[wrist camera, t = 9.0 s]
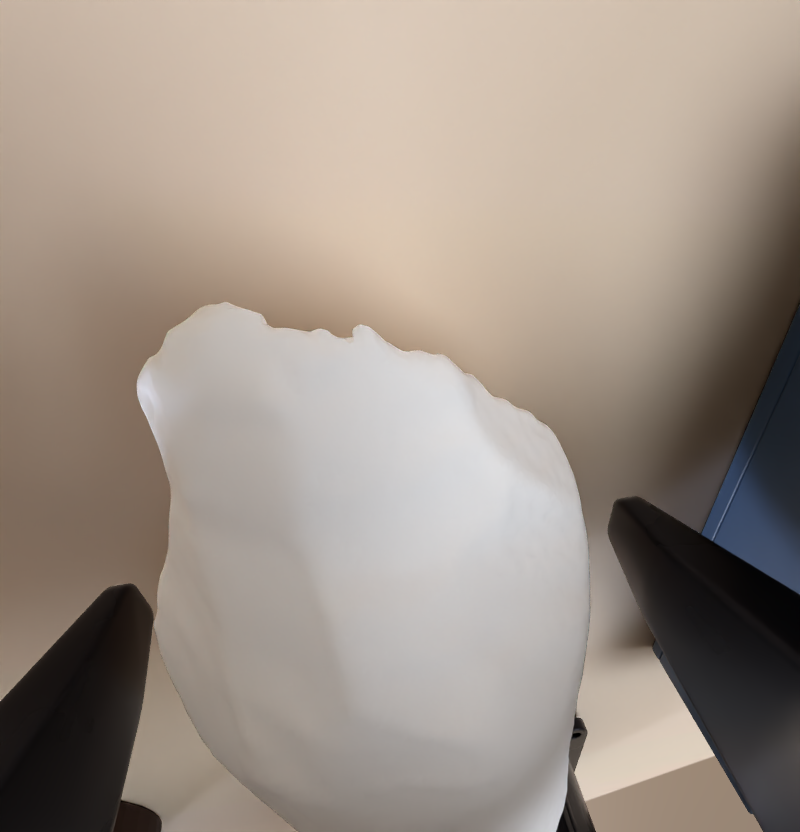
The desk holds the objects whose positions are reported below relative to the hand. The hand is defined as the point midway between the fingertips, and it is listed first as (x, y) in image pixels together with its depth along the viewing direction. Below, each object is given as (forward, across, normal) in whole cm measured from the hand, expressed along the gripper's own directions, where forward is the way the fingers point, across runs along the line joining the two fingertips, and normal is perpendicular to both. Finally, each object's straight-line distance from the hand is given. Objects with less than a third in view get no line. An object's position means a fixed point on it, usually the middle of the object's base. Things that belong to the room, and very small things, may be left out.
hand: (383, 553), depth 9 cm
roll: (+2, 0, 0) cm, 2 cm away
